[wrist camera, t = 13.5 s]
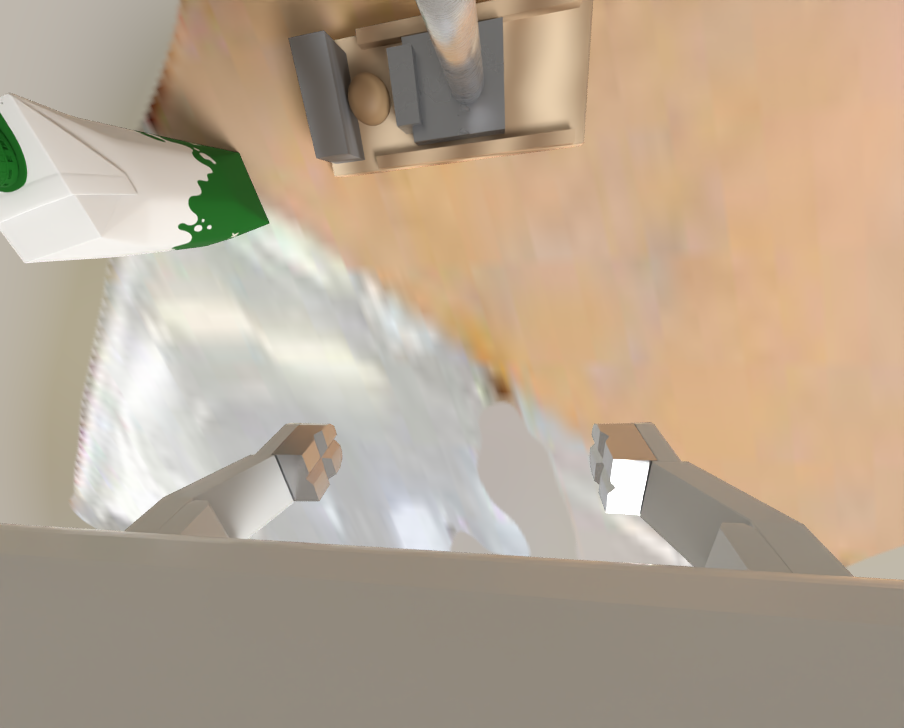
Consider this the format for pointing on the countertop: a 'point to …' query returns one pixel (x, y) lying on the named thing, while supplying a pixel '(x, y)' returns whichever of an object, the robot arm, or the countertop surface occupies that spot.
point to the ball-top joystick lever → (449, 75)
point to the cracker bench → (388, 148)
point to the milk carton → (113, 188)
